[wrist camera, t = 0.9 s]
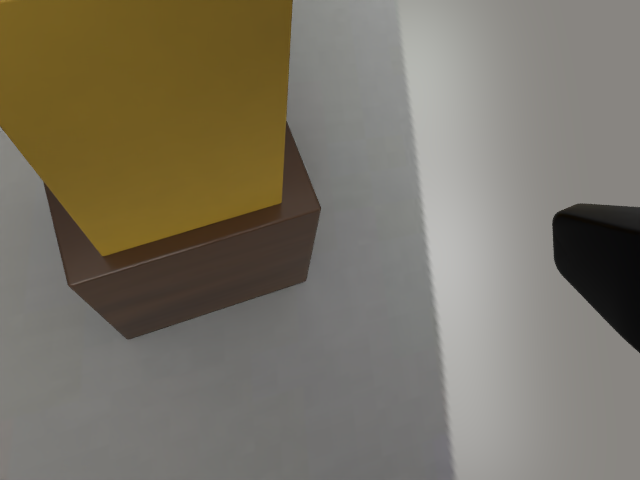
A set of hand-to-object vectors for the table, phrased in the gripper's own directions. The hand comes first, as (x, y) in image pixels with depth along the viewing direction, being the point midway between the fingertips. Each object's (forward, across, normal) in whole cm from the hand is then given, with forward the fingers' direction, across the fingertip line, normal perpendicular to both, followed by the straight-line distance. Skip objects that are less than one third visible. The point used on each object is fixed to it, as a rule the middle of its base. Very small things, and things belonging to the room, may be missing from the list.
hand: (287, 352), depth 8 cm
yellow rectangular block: (+11, 0, -1) cm, 11 cm away
